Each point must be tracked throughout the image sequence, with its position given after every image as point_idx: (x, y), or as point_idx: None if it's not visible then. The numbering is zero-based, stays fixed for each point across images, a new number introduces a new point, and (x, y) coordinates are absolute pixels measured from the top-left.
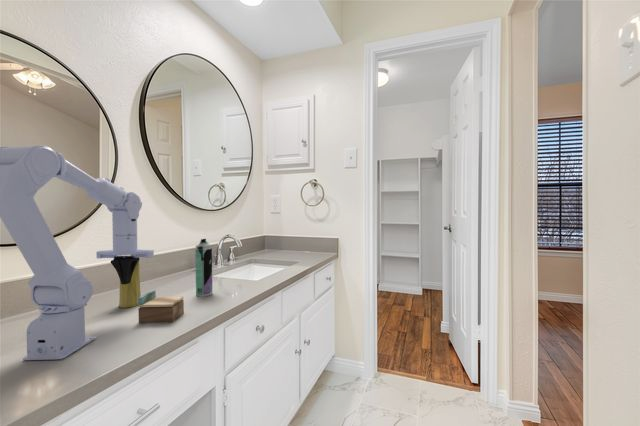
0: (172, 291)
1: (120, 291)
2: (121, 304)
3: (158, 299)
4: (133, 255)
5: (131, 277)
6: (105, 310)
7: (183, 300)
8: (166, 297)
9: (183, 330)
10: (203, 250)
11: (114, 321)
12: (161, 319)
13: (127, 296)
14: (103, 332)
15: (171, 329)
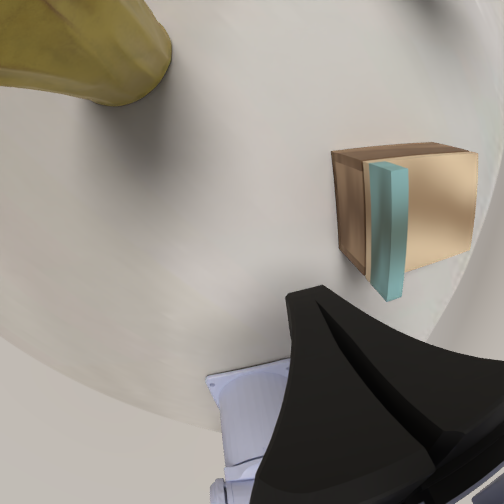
0: None
1: (69, 94)
2: (107, 102)
3: (415, 201)
4: (491, 483)
5: (345, 301)
6: (73, 153)
7: (466, 150)
8: (433, 168)
9: (460, 265)
10: None
11: (232, 250)
12: None
13: (126, 87)
14: (275, 325)
15: (439, 267)
